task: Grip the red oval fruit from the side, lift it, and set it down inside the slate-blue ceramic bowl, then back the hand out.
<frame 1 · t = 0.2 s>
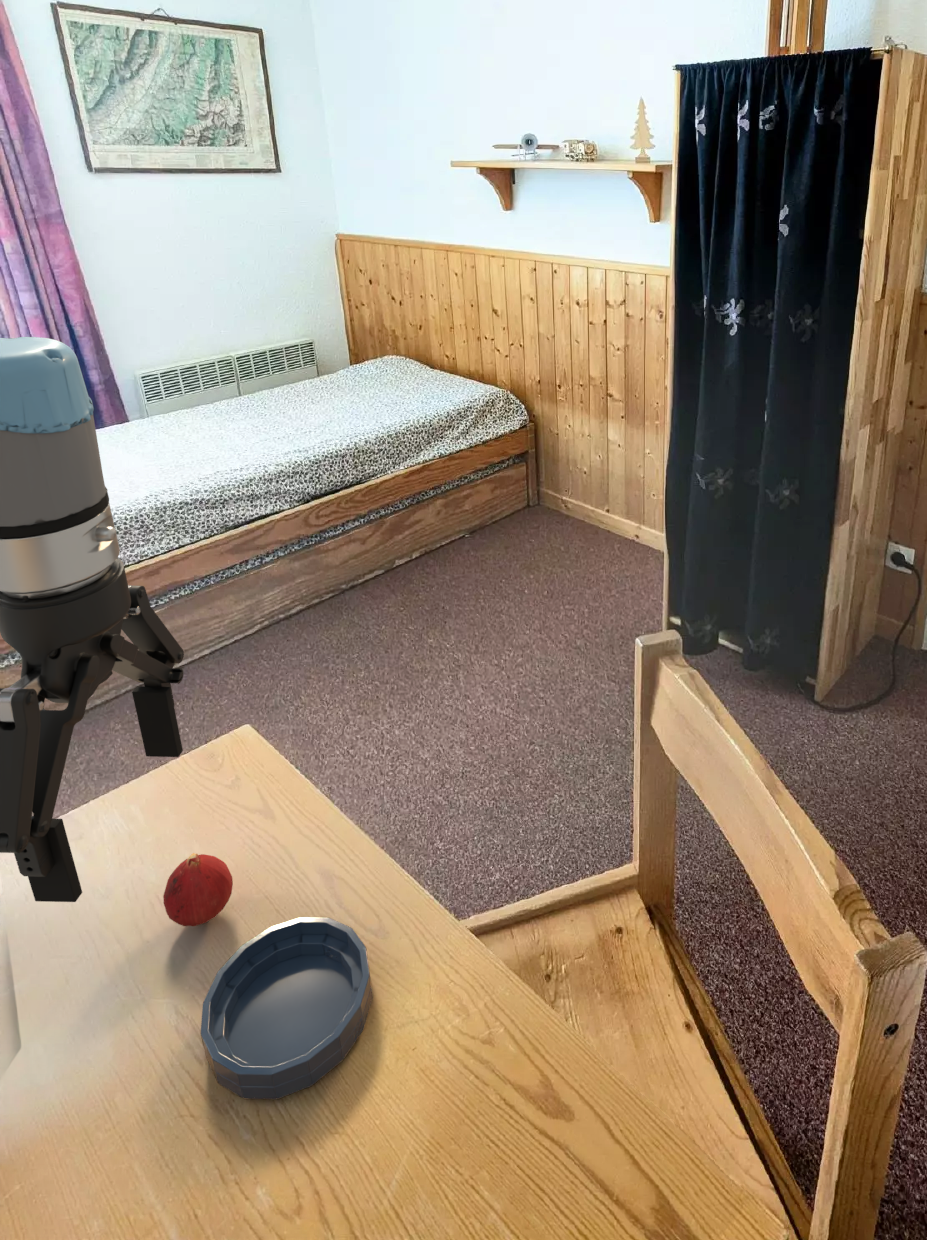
hand: (117, 818, 60), 22 cm above the table, tool pointing down, fingers open, 13 cm apart
red oval fruit: (205, 919, 76), on the table
bowl: (292, 1016, 68), on the table
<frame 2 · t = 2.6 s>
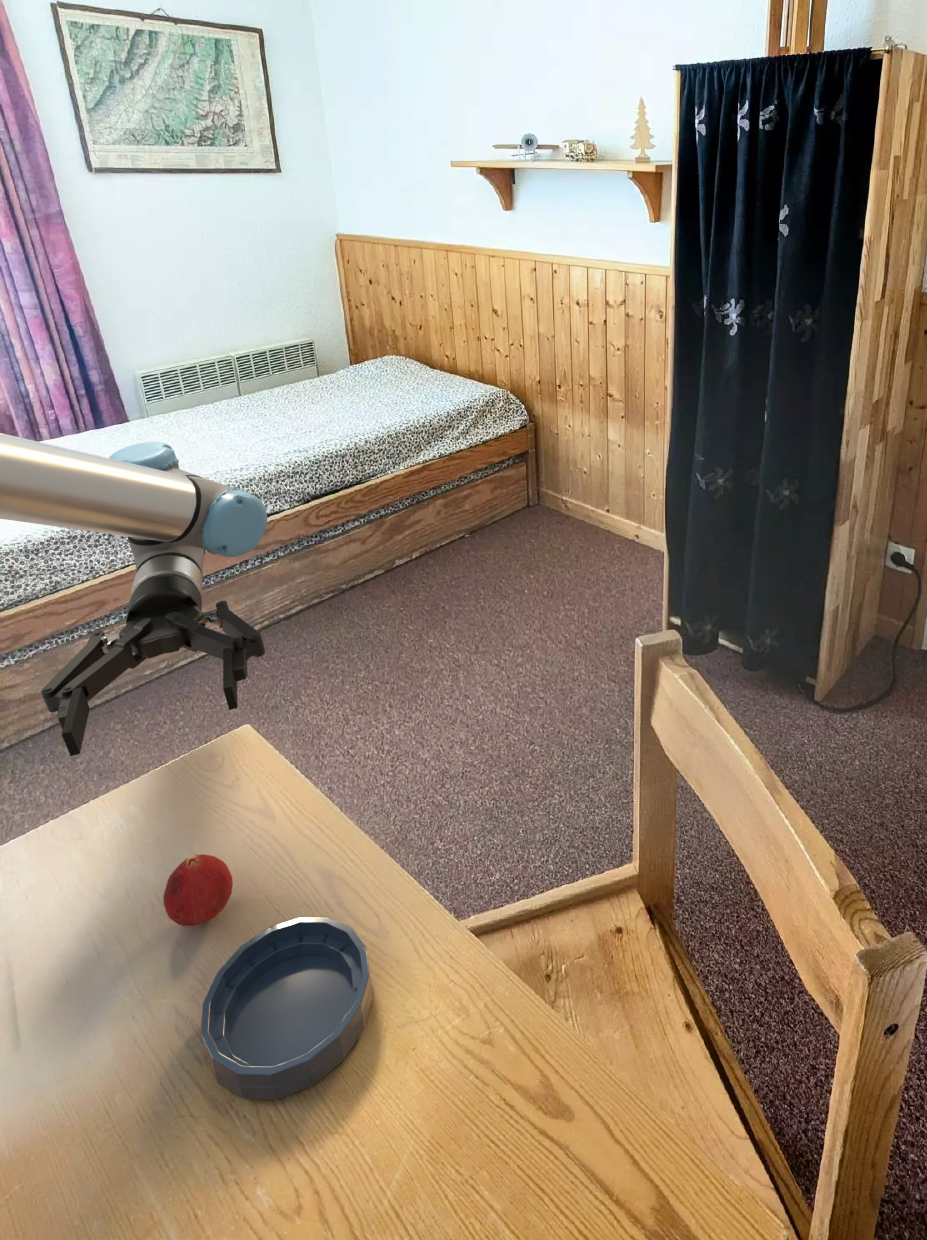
hand: (153, 720, 75), 19 cm above the table, tool horizontal, fingers open, 13 cm apart
nothing on the table moved.
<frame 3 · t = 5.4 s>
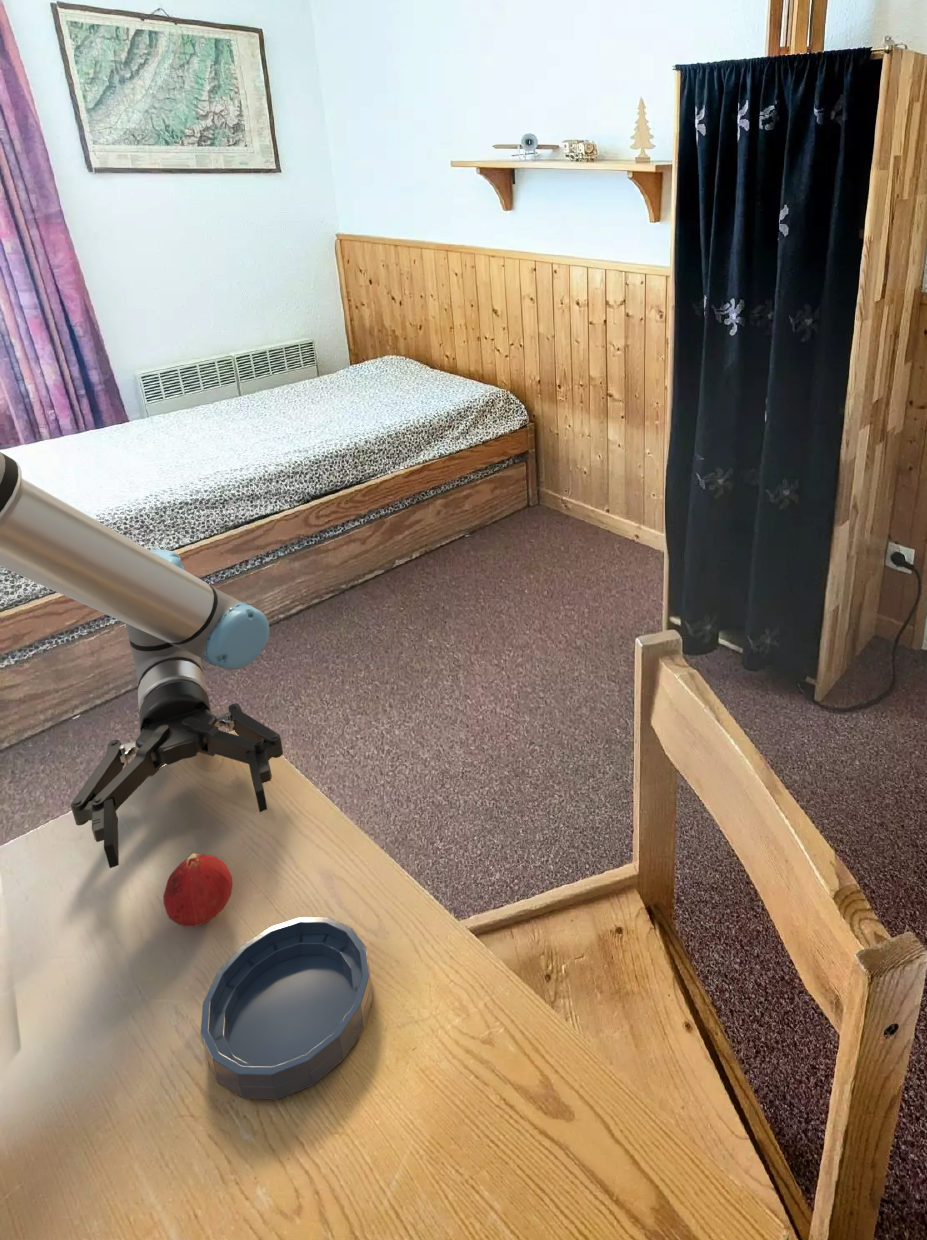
hand: (189, 827, 79), 6 cm above the table, tool horizontal, fingers open, 13 cm apart
nothing on the table moved.
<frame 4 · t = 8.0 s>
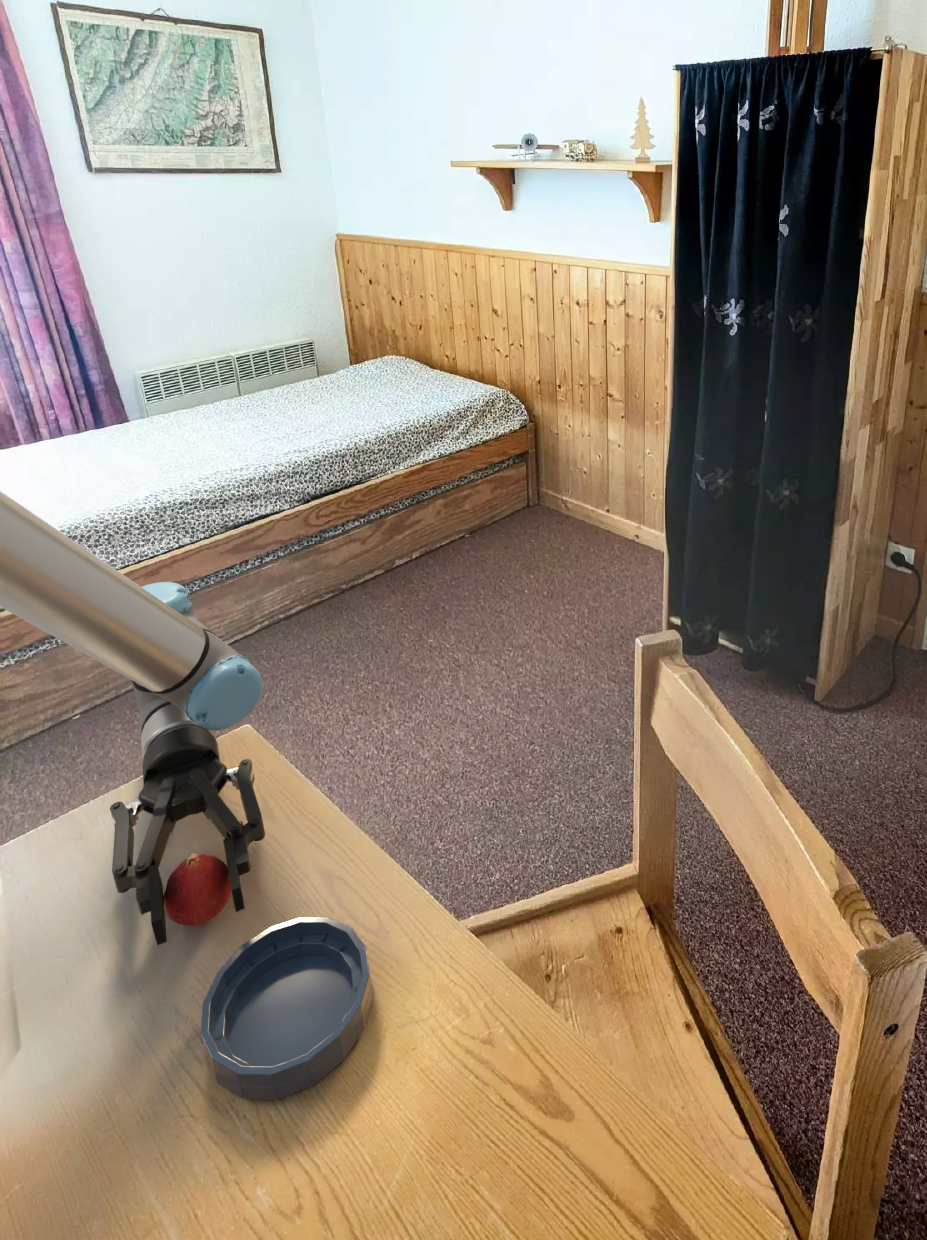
hand: (199, 915, 70), 6 cm above the table, tool horizontal, fingers closed on red oval fruit, 6 cm apart
red oval fruit: (205, 919, 76), on the table, touching gripper
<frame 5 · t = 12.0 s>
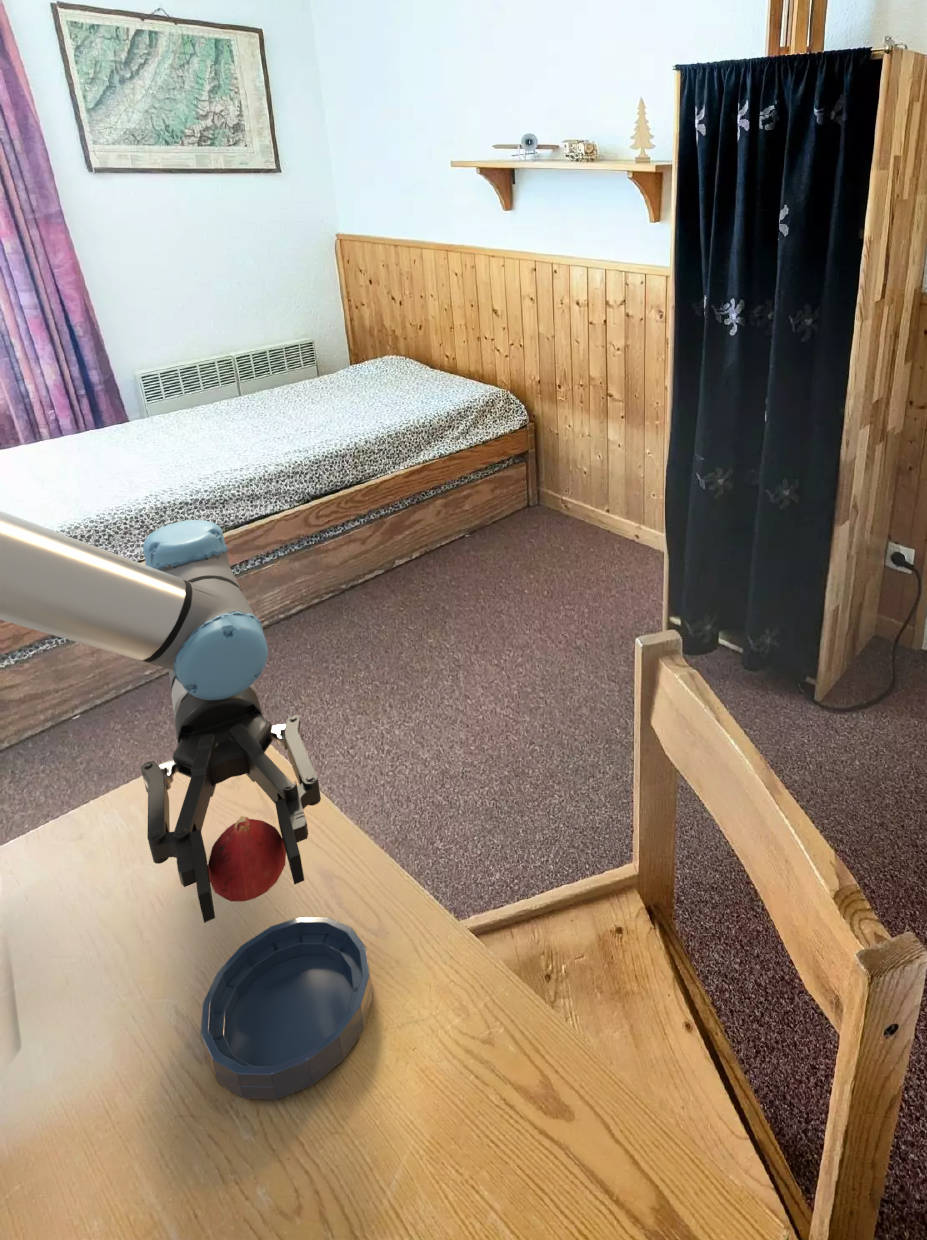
hand: (253, 887, 59), 18 cm above the table, tool horizontal, fingers closed on red oval fruit, 6 cm apart
red oval fruit: (254, 895, 66), point 12 cm above the table, touching gripper
when the fingers open (6 cm above the table, at t = 15.8 s): red oval fruit stays where it is, resting on bowl.
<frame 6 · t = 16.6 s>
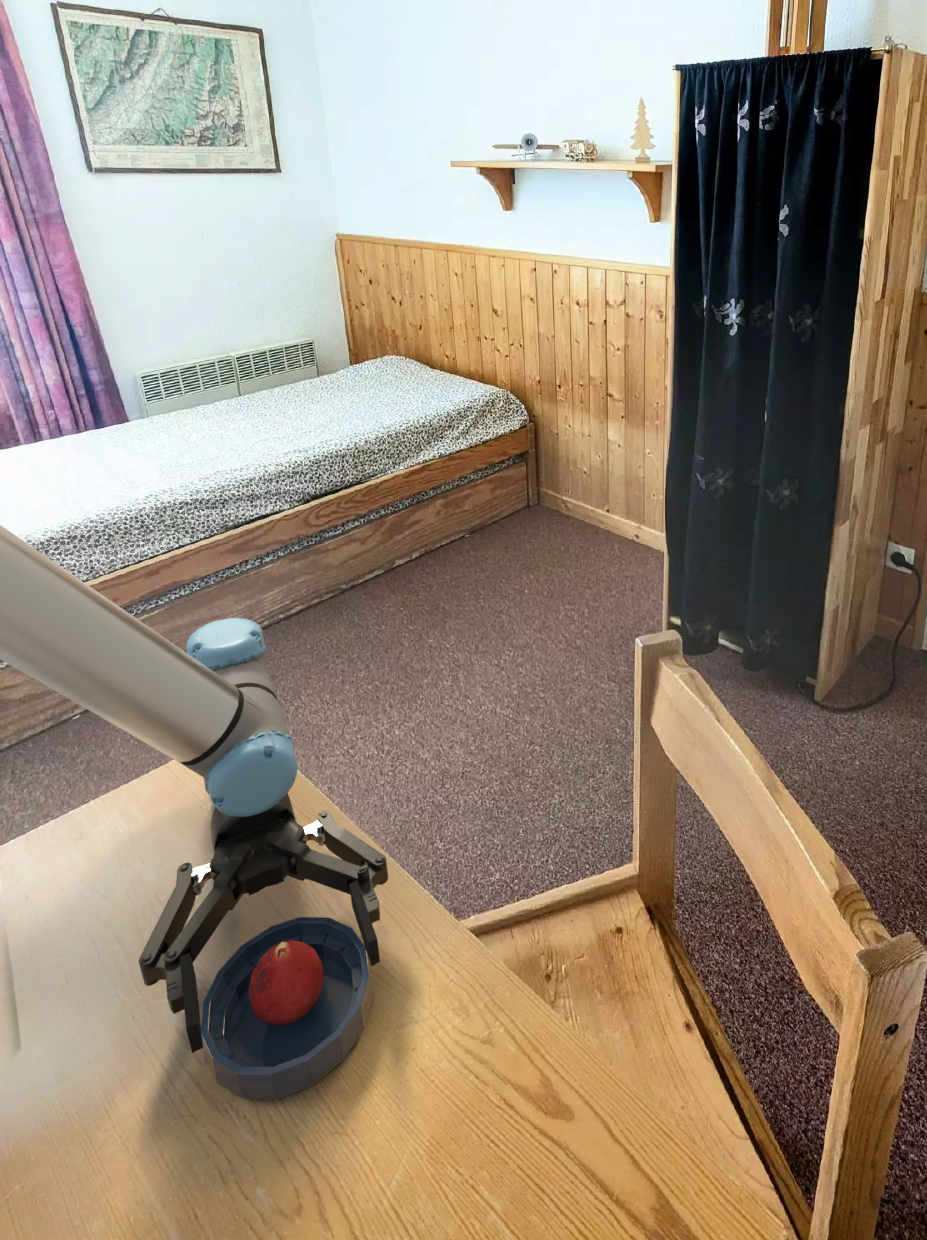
hand: (289, 994, 63), 7 cm above the table, tool horizontal, fingers open, 13 cm apart
red oval fruit: (292, 1013, 68), resting on bowl
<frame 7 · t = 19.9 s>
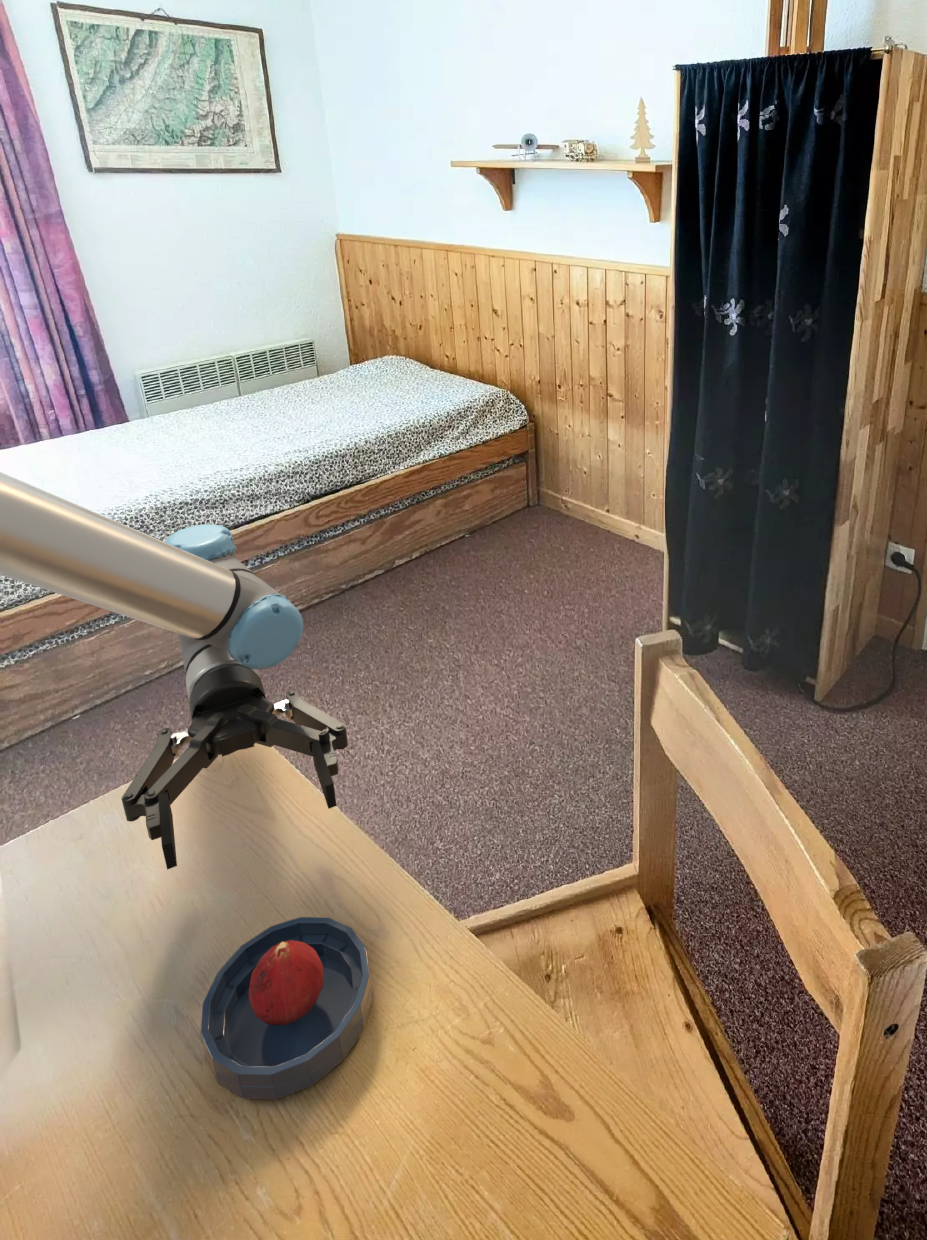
hand: (254, 825, 71), 13 cm above the table, tool horizontal, fingers open, 13 cm apart
nothing on the table moved.
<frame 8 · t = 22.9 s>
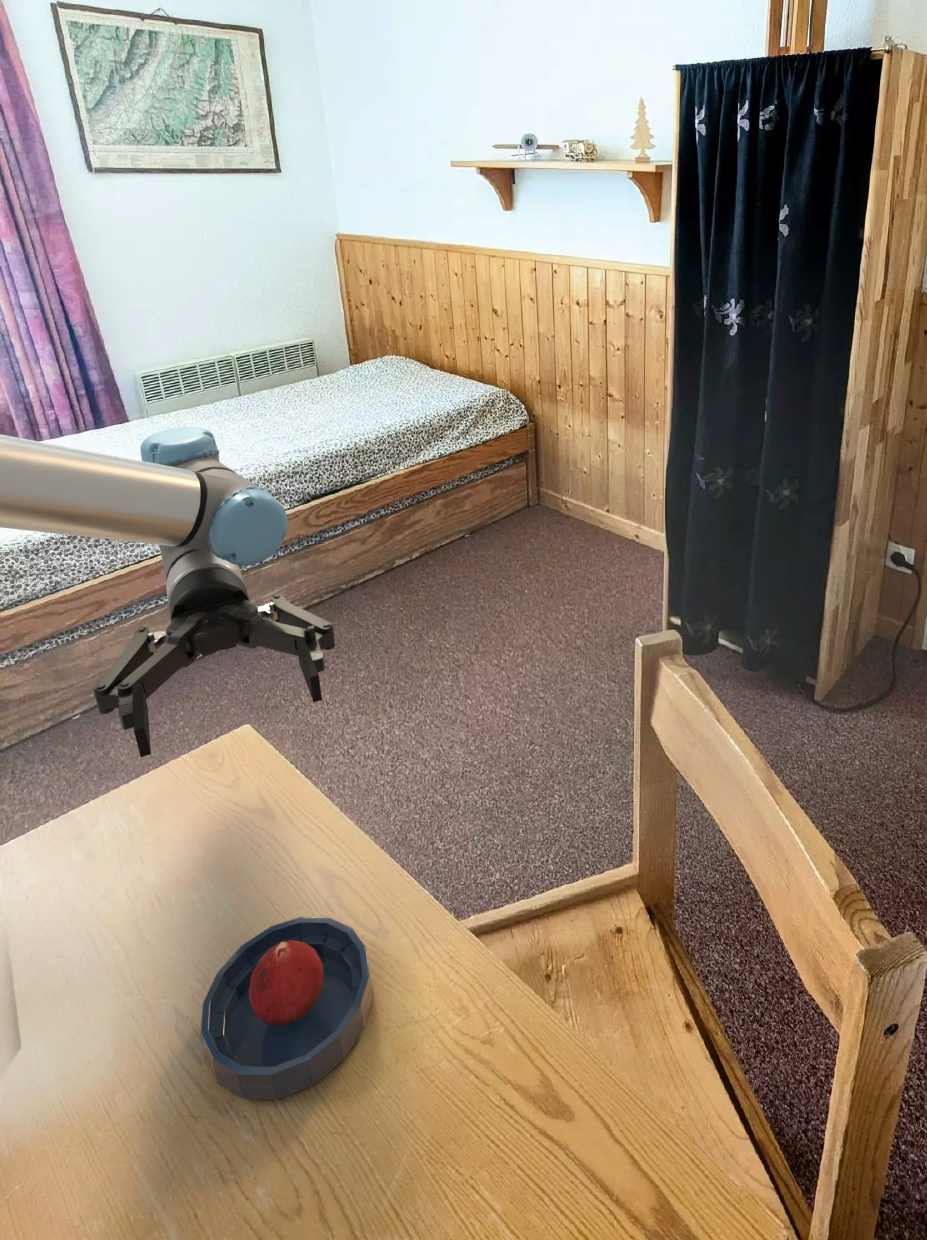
hand: (233, 714, 67), 25 cm above the table, tool horizontal, fingers open, 13 cm apart
nothing on the table moved.
at the end: red oval fruit inside the target area in the bowl (0.0 cm from its centre), point 0.3 cm above the bowl's base; the gripper is holding nothing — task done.
